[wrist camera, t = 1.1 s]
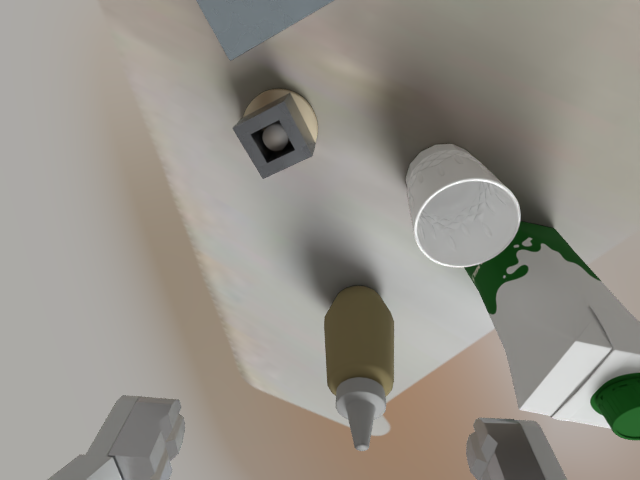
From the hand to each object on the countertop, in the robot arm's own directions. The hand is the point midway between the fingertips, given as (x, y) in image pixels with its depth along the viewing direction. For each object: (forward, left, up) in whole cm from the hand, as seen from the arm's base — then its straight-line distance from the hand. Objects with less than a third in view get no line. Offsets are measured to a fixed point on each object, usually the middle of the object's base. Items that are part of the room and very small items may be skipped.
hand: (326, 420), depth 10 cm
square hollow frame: (+5, -3, -29) cm, 29 cm away
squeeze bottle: (+7, +20, -30) cm, 37 cm away
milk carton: (-11, +19, -30) cm, 37 cm away
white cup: (-7, +8, -30) cm, 32 cm away
